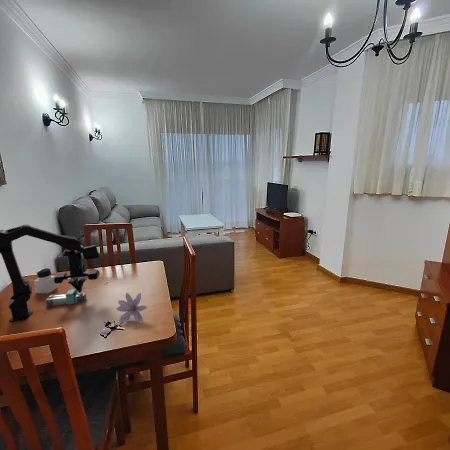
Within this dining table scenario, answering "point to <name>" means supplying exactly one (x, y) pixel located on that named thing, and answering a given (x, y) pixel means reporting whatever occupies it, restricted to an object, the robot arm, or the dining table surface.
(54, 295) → the tong arm
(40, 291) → the medicine bottle
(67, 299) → the teal notched block
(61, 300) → the tong frame
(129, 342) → the dining table surface
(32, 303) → the dining table surface
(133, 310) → the purple flower
